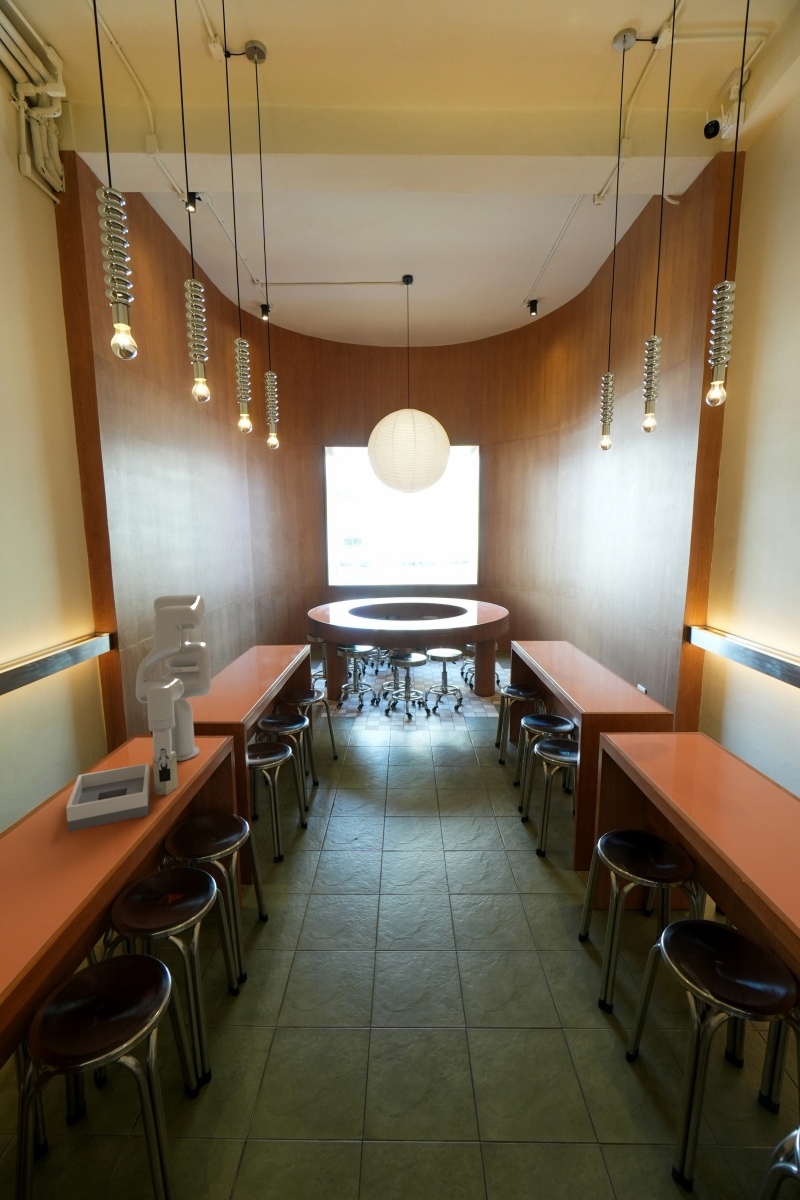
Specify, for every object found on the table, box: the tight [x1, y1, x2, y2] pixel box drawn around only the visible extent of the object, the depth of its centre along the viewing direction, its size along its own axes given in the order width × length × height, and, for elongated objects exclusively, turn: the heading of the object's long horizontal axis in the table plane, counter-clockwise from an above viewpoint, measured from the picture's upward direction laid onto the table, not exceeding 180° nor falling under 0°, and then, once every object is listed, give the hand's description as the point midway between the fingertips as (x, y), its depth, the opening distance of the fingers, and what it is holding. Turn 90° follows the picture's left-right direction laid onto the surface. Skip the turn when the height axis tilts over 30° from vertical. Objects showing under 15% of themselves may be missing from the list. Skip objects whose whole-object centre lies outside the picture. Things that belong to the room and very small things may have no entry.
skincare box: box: [151, 751, 179, 796], centre depth 165 cm, size 6×4×12 cm
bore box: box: [65, 762, 151, 833], centre depth 157 cm, size 22×20×7 cm
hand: (165, 774), depth 165 cm, fingers open, 9 cm apart
